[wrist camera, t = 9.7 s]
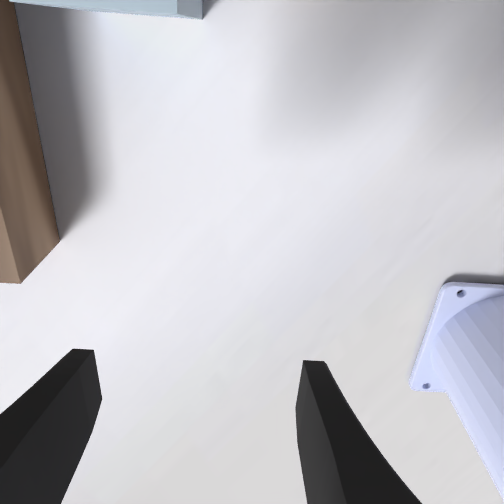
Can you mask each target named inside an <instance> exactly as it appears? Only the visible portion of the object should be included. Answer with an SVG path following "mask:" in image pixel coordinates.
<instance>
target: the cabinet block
mask: <svg viewBox="0 0 504 504" xmlns="http://www.w3.org/2000/svg"><path fill="white" fill-rule="evenodd" d="M9 1H10V2H18V3H26V4H35V5H43V6H51V7H60V8H68V9H77V10H85V11H95V12H109V13H122V14H135V15H149V16H162V17H175V18H189V19H202V20H203V0H9Z"/></svg>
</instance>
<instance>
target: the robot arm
mask: <svg viewBox="0 0 504 504" xmlns="http://www.w3.org/2000/svg"><path fill="white" fill-rule="evenodd" d="M460 290H463V291H462V292H460V293H457V292H458V291H460ZM425 383H426V384H425ZM409 385H410V387H411V389H412V390H415V391H431V392H446V393H447V395H448V397H449V399H450V401H451V403H452V405H453V406H454V408H455V410H456V412H457V414H458V416H459V418H460V420H461V422H462V423H463V425H464V427H465V429H466V431H467V433H468V435H469V437H470V439H471V440H472V442H473V444H474V446H475V448H476V450H477V452H478V454H479V456H480V457H481V459H482V461H483V463H484V465H485V467H486V469H487V471H488V473H489V474H490V476H491V478H492V480H493V482H494V484H495V486H496V488H497V490H498V491H499V493H500V495H501V497H502V499H503V501H504V285H501V284H482V283H464V282H448V283H446V284H444V285H443V286H442V288H441V290H440V292H439V295H438V298H437V301H436V304H435V307H434V310H433V313H432V316H431V318H430V321H429V324H428V327H427V330H426V333H425V336H424V339H423V342H422V345H421V347H420V350H419V353H418V356H417V359H416V362H415V365H414V368H413V371H412V374H411V376H410V379H409ZM101 401H102V395H101V389H100V383H99V378H98V372H97V366H96V360H95V354H94V350H87V349H72V350H71V351H70V352H69V353H67V354H66V355H65V356H64V357H63V358H62V359H61V360H60V361H59V362H58V363H57V364H56V365H54V366H53V367H52V368H51V369H50V370H49V371H48V372H47V373H46V374H45V375H44V376H43V377H42V378H41V379H39V380H38V381H37V382H36V383H35V384H34V385H33V386H32V387H31V388H30V389H28V390H27V391H26V392H25V393H24V394H23V395H22V396H21V397H20V398H18V399H17V400H16V401H15V402H14V403H13V404H12V405H11V406H9V407H8V408H7V409H6V410H5V411H4V412H2V413H1V414H0V504H61V502H62V500H63V498H64V495H65V493H66V491H67V489H68V486H69V484H70V482H71V480H72V477H73V475H74V473H75V471H76V468H77V466H78V464H79V461H80V459H81V457H82V455H83V452H84V450H85V448H86V445H87V443H88V441H89V438H90V436H91V434H92V431H93V428H94V424H95V421H96V418H97V415H98V411H99V408H100V405H101ZM296 426H297V442H298V449H299V455H300V461H301V467H302V474H303V480H304V486H305V492H306V498H307V504H422V503H421V502H420V501H419V500H418V498H417V497H416V496H415V495H414V494H413V493H412V492H411V490H410V489H409V488H408V487H407V486H406V484H405V483H404V482H403V481H402V479H401V478H400V477H399V476H398V475H397V473H396V472H395V471H394V470H393V468H392V467H391V466H390V464H389V463H388V462H387V460H386V459H385V458H384V456H383V455H382V454H381V452H380V451H379V449H378V448H377V447H376V445H375V444H374V442H373V441H372V440H371V438H370V437H369V435H368V434H367V432H366V431H365V429H364V428H363V426H362V425H361V423H360V422H359V420H358V419H357V417H356V415H355V414H354V412H353V411H352V409H351V408H350V406H349V404H348V403H347V401H346V399H345V397H344V396H343V394H342V392H341V390H340V389H339V387H338V385H337V383H336V381H335V380H334V378H333V376H332V374H331V372H330V370H329V368H328V366H327V364H326V363H325V362H324V361H308V360H303V365H302V371H301V377H300V384H299V390H298V396H297V402H296Z"/></svg>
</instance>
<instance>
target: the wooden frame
mask: <svg viewBox="0 0 504 504" xmlns="http://www.w3.org/2000/svg"><path fill="white" fill-rule="evenodd" d="M59 242H60V240H59V235H58V229H57V224H56V219H55V214H54V209H53V203H52V198H51V193H50V188H49V183H48V178H47V172H46V167H45V162H44V157H43V152H42V147H41V141H40V136H39V131H38V126H37V121H36V116H35V110H34V105H33V100H32V95H31V90H30V85H29V79H28V74H27V69H26V64H25V59H24V53H23V48H22V43H21V38H20V33H19V28H18V22H17V17H16V12H15V7H14V2H10V1H9V0H0V283H17V284H21V283H22V282H23V281H24V280H25V278H26V277H27V276H28V275H29V274H30V273H31V272H32V271H33V270H34V269H35V268H36V267H37V266H38V264H39V263H40V262H41V261H42V260H43V259H44V258H45V257H46V256H47V255H48V254H49V253H50V252H51V251H52V249H53V248H54V247H55V246H56V245H57V244H58V243H59Z"/></svg>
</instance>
